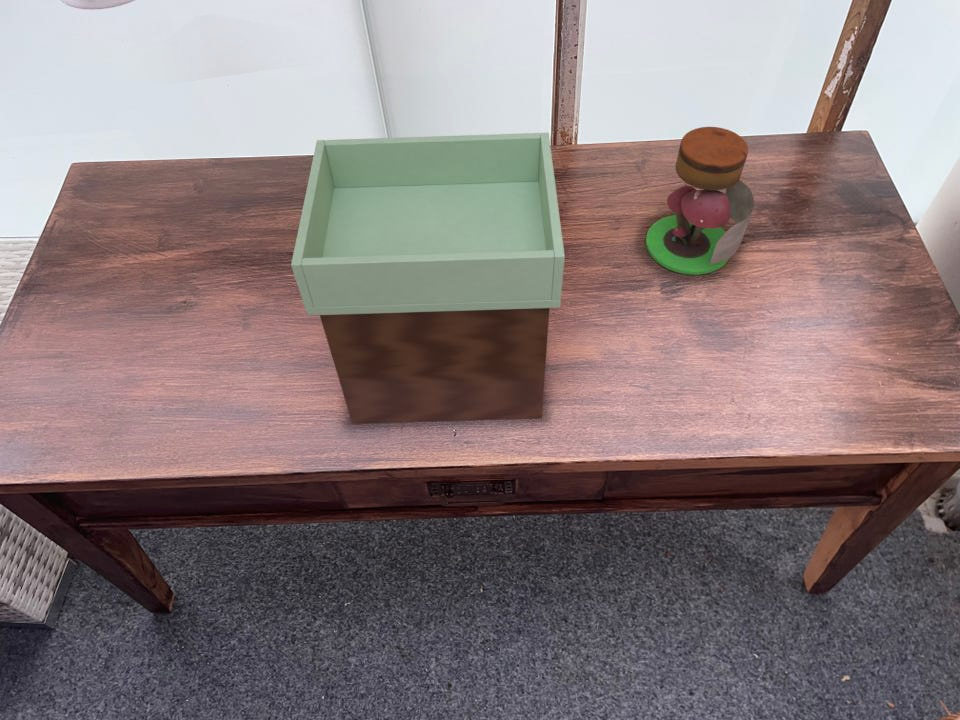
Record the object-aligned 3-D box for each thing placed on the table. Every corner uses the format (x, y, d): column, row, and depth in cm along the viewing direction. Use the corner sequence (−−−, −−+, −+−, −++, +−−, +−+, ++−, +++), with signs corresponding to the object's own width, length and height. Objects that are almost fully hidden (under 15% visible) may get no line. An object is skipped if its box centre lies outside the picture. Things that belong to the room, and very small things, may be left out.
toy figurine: (643, 281, 88) (664, 181, 76) (640, 213, 96) (659, 113, 84) (742, 287, 87) (780, 186, 75) (731, 218, 95) (764, 117, 83)
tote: (545, 184, 72) (548, 132, 67) (560, 308, 61) (564, 256, 57) (328, 191, 72) (316, 139, 67) (307, 315, 62) (290, 264, 57)
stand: (532, 312, 85) (538, 190, 71) (541, 418, 76) (550, 301, 62) (363, 317, 86) (336, 196, 71) (352, 424, 76) (317, 308, 62)
